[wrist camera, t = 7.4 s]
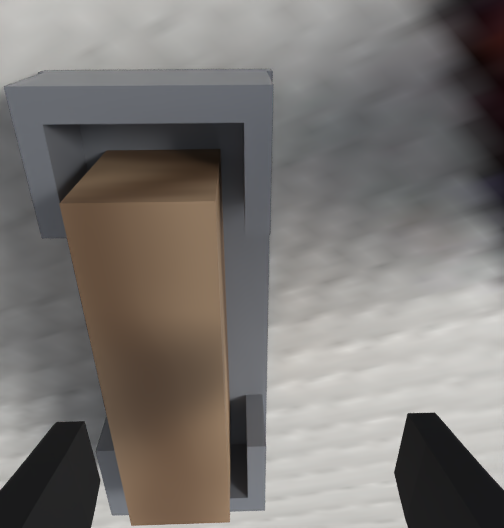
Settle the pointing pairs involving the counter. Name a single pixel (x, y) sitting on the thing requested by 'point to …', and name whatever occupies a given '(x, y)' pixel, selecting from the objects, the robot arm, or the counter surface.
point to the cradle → (233, 199)
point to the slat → (158, 325)
